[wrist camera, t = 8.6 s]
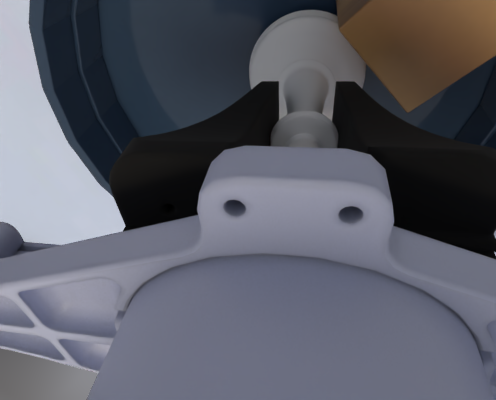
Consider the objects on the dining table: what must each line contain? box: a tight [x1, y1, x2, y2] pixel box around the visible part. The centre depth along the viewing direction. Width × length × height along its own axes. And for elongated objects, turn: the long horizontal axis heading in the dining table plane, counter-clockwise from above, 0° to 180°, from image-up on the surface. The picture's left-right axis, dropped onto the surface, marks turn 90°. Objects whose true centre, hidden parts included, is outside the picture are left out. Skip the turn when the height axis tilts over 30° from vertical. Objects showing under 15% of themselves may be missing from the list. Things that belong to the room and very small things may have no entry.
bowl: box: [29, 0, 496, 196], centre depth 15 cm, size 19×19×4 cm
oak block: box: [336, 0, 496, 113], centre depth 12 cm, size 4×4×4 cm
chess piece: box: [249, 10, 366, 148], centre depth 12 cm, size 5×5×10 cm
